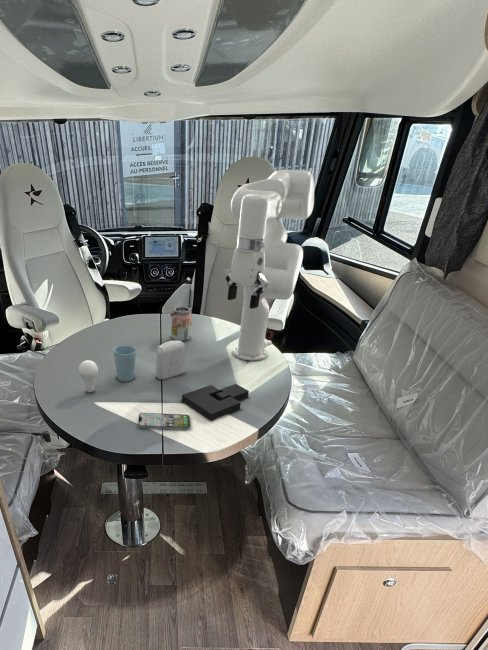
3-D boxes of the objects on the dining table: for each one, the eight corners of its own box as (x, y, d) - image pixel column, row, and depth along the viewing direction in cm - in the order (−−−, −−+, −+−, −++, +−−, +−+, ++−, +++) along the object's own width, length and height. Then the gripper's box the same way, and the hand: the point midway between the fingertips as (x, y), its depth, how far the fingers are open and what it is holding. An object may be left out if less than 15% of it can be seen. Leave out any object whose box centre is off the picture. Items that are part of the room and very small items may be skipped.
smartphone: (190, 428, 126) (138, 426, 126) (190, 431, 127) (138, 429, 127) (189, 414, 132) (139, 412, 132) (188, 417, 133) (139, 415, 133)
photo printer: (178, 369, 159) (179, 336, 152) (185, 373, 156) (187, 340, 149) (154, 376, 154) (154, 342, 147) (161, 381, 151) (162, 347, 144)
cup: (138, 373, 156) (137, 345, 150) (134, 383, 150) (134, 355, 144) (117, 372, 157) (115, 344, 151) (113, 382, 151) (111, 353, 145)
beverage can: (166, 335, 185) (167, 306, 178) (184, 332, 187) (185, 304, 180) (176, 343, 178) (177, 314, 171) (194, 340, 181) (196, 311, 174)
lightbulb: (102, 389, 147) (100, 358, 140) (94, 397, 142) (92, 366, 135) (85, 386, 148) (83, 355, 142) (77, 394, 144) (74, 363, 137)
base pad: (210, 391, 146) (210, 384, 144) (240, 409, 136) (241, 402, 135) (181, 401, 140) (182, 394, 139) (210, 421, 131) (211, 414, 129)
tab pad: (235, 390, 146) (235, 383, 145) (247, 397, 142) (249, 390, 141) (212, 398, 142) (212, 391, 140) (224, 406, 138) (225, 399, 136)
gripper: (281, 247, 123) (271, 308, 133) (238, 237, 134) (232, 294, 144) (263, 251, 119) (254, 313, 130) (220, 240, 131) (214, 298, 141)
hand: (242, 303), depth 137 cm, fingers open, 9 cm apart
